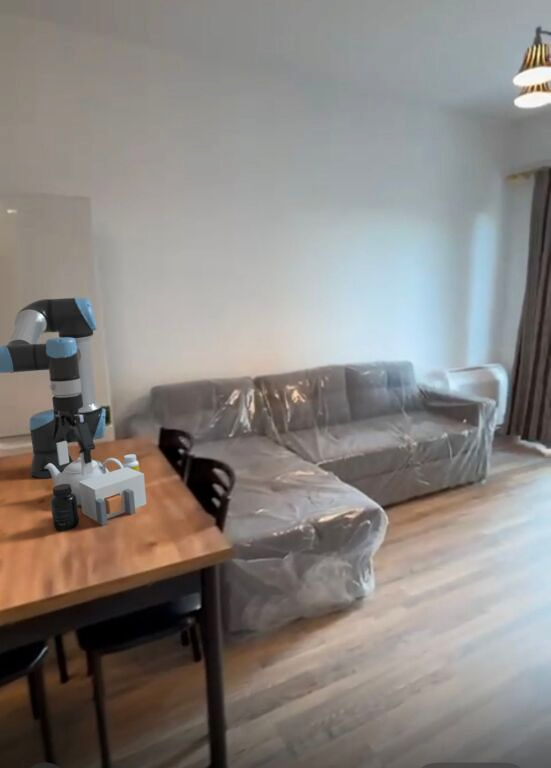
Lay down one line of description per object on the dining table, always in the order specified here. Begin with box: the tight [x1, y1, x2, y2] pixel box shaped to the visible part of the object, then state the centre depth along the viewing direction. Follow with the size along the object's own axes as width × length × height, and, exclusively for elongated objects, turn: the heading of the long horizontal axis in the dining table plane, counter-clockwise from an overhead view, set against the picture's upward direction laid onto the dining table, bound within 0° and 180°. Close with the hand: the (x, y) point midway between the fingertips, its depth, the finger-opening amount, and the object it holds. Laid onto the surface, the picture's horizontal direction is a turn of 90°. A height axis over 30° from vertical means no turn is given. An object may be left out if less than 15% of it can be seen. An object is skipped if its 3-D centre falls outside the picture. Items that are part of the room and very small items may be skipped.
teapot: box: [44, 456, 123, 507], centre depth 158 cm, size 19×18×14 cm
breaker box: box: [79, 467, 147, 527], centre depth 147 cm, size 13×16×10 cm
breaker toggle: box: [104, 494, 123, 514], centre depth 144 cm, size 8×4×4 cm, turn 47°
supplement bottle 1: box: [49, 484, 80, 532], centre depth 137 cm, size 7×7×12 cm
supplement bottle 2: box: [122, 453, 140, 472], centre depth 169 cm, size 5×5×10 cm
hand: (75, 468), depth 136 cm, fingers open, 13 cm apart
